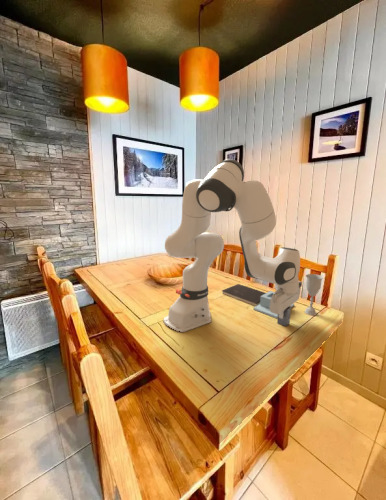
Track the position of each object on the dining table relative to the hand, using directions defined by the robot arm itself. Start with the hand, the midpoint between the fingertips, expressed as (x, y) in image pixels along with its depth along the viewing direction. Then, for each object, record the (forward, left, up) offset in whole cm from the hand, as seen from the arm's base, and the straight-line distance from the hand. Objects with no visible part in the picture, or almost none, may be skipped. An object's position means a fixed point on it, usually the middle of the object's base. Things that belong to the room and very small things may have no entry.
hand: (283, 315), depth 97 cm
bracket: (0, 0, -4) cm, 4 cm away
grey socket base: (+11, +10, -4) cm, 15 cm away
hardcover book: (+14, +28, -4) cm, 32 cm away
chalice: (+18, -5, -4) cm, 19 cm away
